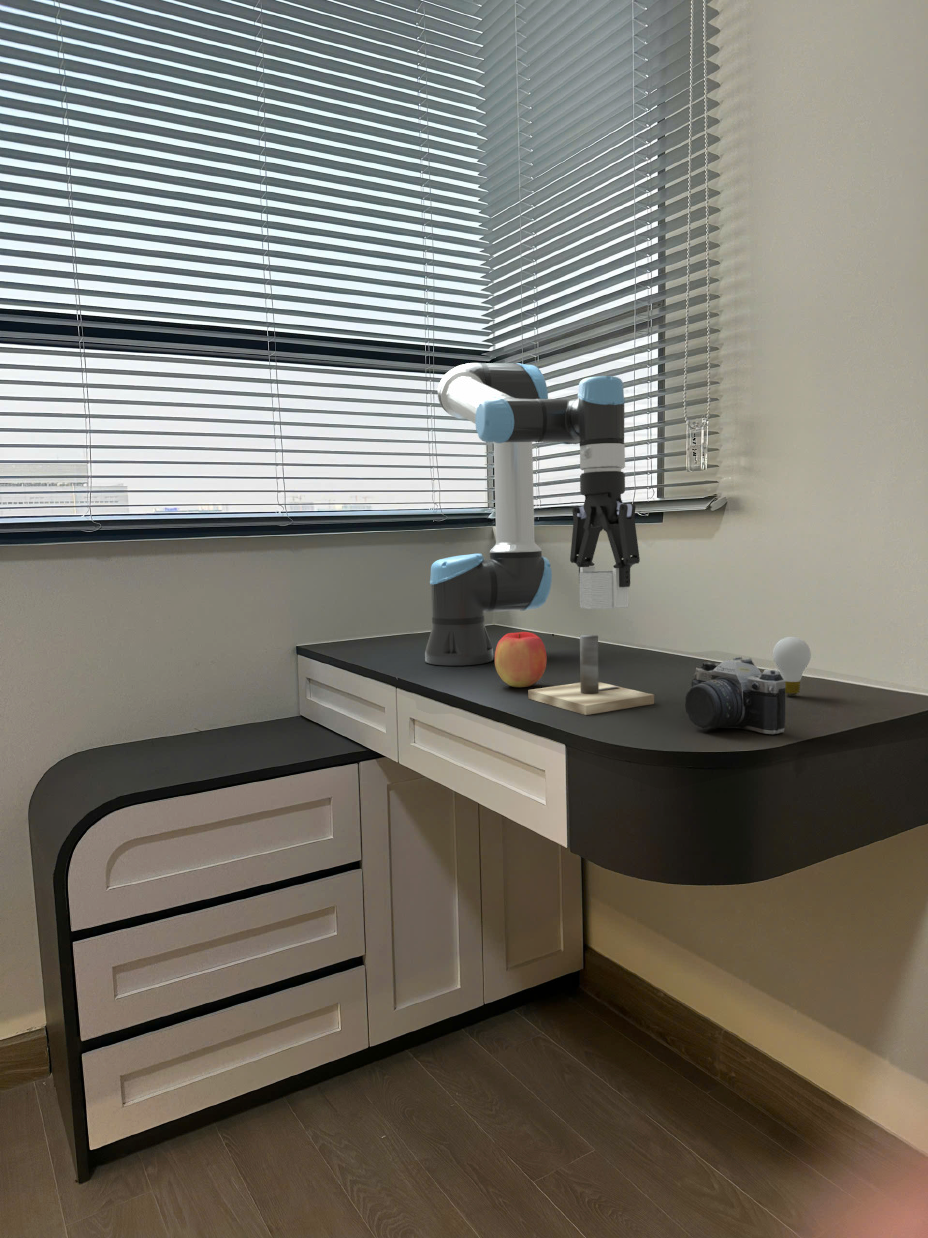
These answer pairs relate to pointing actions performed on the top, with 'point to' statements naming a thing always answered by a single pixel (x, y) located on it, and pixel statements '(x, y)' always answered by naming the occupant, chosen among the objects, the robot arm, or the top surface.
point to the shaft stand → (590, 688)
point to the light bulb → (791, 662)
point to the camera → (737, 697)
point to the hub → (596, 590)
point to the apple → (520, 659)
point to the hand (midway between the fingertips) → (604, 605)
